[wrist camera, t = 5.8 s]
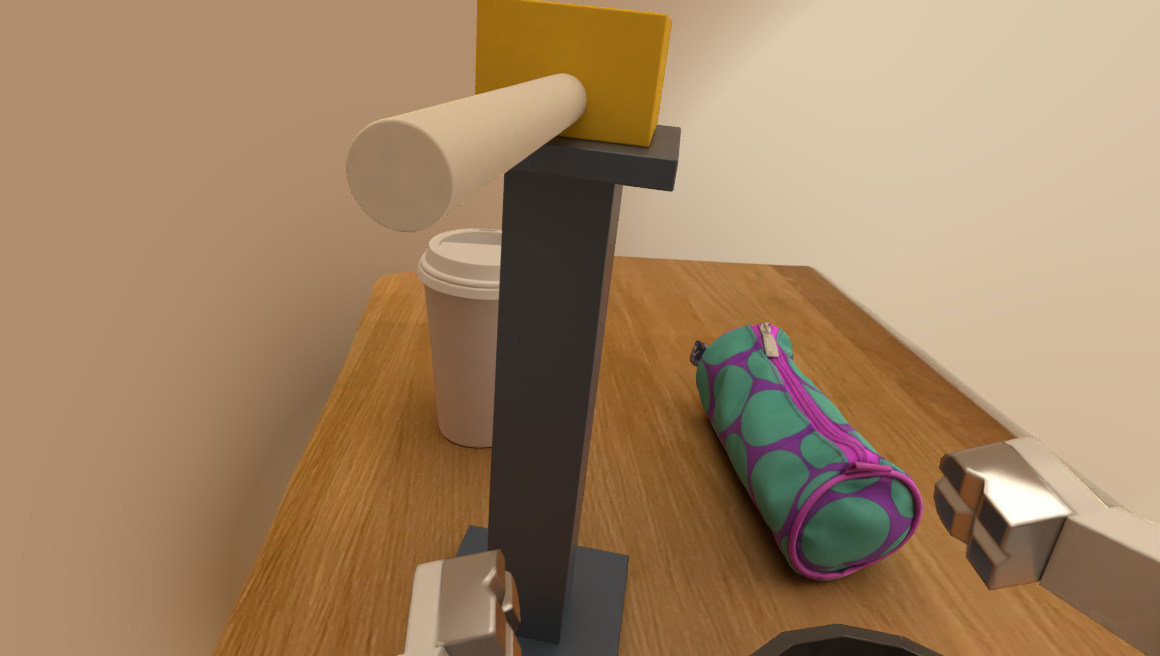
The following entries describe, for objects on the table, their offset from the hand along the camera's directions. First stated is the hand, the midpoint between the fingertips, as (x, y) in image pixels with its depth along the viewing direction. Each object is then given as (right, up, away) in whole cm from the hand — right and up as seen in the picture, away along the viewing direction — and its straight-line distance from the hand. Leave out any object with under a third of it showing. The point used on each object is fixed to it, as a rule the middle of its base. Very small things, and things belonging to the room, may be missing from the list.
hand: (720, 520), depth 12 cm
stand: (-5, -12, +23) cm, 27 cm away
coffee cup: (-11, -4, +39) cm, 41 cm away
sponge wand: (-4, +9, +6) cm, 11 cm away
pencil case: (+12, -8, +36) cm, 39 cm away
